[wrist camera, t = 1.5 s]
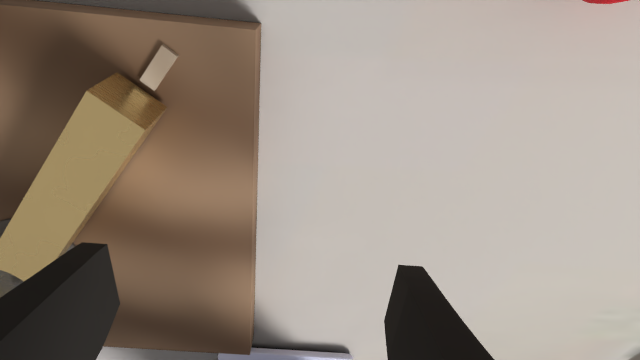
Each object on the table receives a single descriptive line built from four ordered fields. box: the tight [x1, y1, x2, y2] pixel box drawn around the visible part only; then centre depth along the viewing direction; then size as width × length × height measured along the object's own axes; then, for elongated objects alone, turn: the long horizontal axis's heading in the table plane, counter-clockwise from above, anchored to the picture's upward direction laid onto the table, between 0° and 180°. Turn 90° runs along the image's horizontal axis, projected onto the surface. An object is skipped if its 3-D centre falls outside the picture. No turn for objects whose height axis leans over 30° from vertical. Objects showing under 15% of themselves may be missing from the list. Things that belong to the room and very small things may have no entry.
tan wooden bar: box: [0, 72, 167, 297], centre depth 16 cm, size 12×3×2 cm, turn 140°
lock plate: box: [0, 0, 261, 355], centre depth 18 cm, size 17×20×2 cm
